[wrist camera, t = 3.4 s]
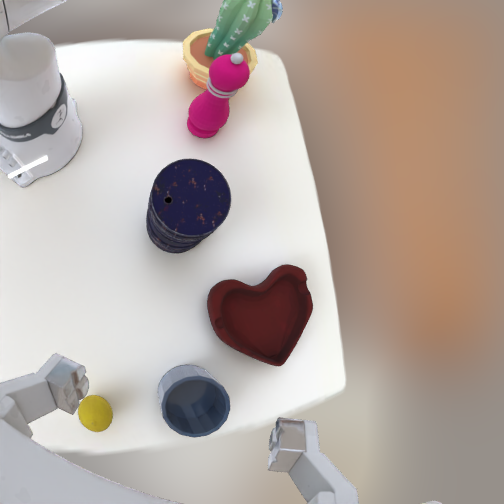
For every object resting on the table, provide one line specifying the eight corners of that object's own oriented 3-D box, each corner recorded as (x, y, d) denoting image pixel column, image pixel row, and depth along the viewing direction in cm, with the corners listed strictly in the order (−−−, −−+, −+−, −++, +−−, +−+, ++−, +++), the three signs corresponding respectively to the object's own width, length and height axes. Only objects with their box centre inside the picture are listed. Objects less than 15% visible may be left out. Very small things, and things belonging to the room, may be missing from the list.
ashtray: (223, 378, 46) (232, 386, 42) (197, 286, 47) (204, 285, 42) (309, 344, 53) (325, 348, 49) (290, 262, 54) (305, 259, 49)
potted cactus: (239, 110, 55) (299, 26, 32) (165, 92, 49) (196, -8, 26) (247, 63, 57) (299, -13, 34) (184, 45, 52) (217, -41, 29)
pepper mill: (224, 116, 53) (266, 49, 35) (216, 145, 52) (259, 79, 33) (189, 105, 51) (220, 32, 32) (179, 134, 49) (207, 62, 31)
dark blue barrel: (197, 191, 49) (222, 153, 35) (210, 246, 49) (241, 227, 35) (140, 201, 45) (143, 164, 31) (152, 260, 45) (159, 245, 31)
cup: (151, 411, 41) (154, 428, 34) (167, 357, 43) (172, 367, 37) (207, 424, 44) (219, 441, 38) (224, 373, 47) (238, 385, 40)
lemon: (118, 416, 38) (116, 437, 31) (88, 420, 36) (82, 441, 29) (108, 386, 39) (103, 404, 32) (78, 390, 37) (68, 408, 29)
